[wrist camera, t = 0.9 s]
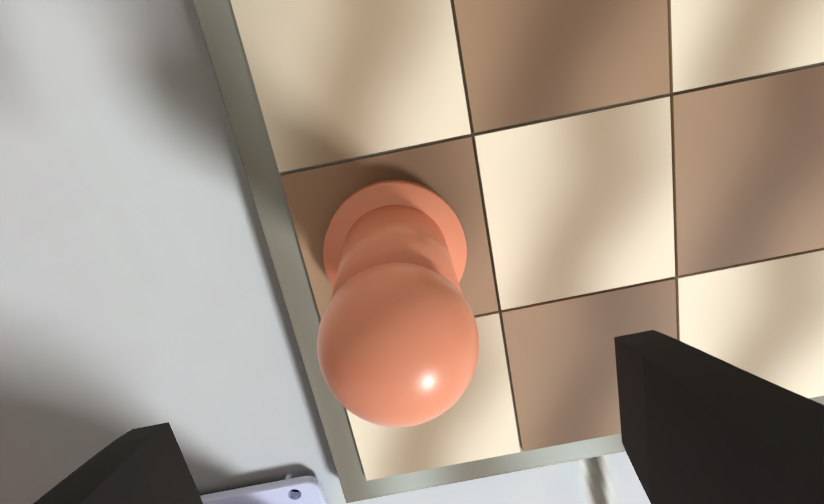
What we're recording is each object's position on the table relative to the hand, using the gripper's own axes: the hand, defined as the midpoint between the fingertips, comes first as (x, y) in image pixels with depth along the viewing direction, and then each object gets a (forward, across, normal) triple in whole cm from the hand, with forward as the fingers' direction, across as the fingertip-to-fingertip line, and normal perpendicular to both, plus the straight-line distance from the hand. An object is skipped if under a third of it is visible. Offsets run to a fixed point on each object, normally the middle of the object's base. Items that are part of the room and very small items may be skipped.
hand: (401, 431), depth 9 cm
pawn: (+9, 0, 0) cm, 9 cm away
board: (+10, -9, 0) cm, 14 cm away
